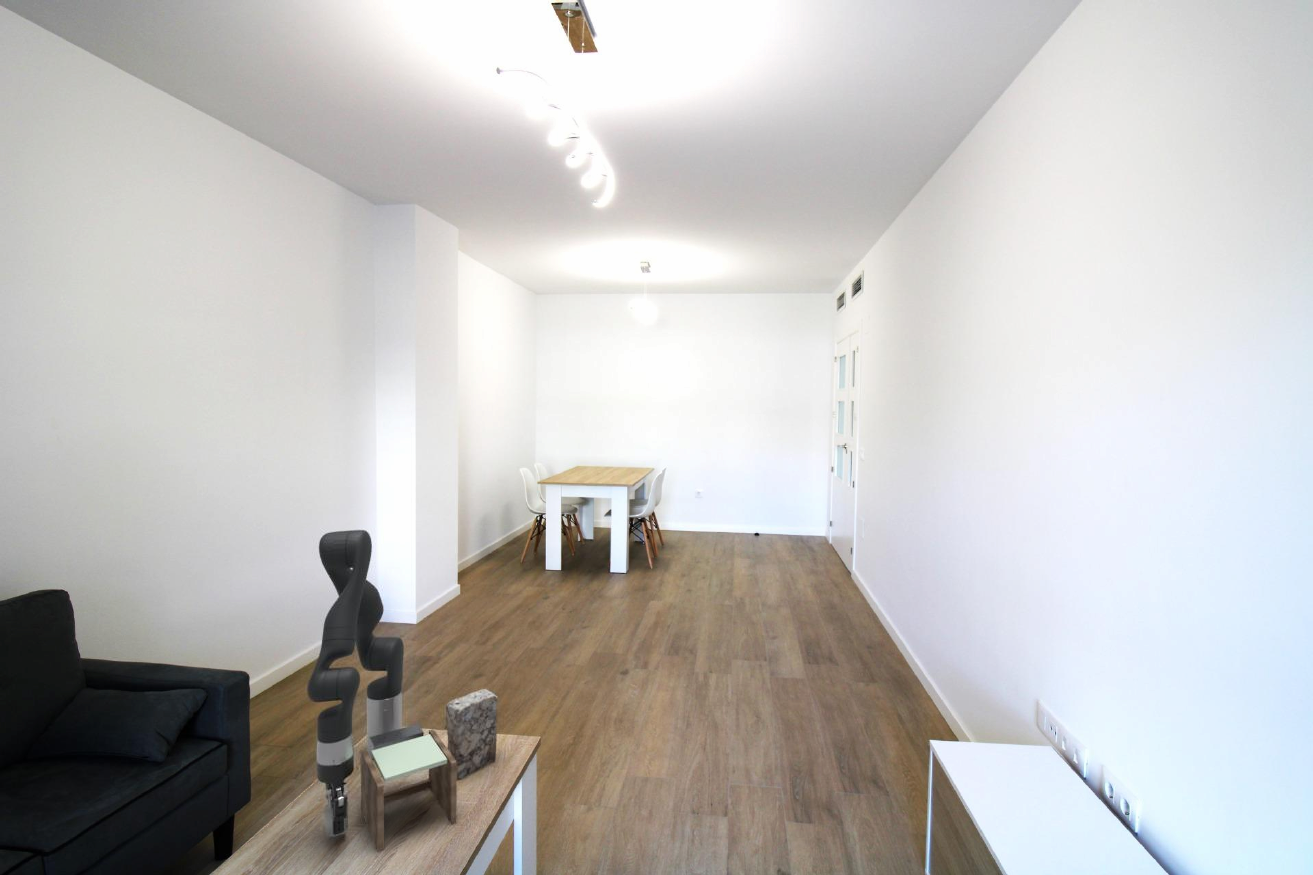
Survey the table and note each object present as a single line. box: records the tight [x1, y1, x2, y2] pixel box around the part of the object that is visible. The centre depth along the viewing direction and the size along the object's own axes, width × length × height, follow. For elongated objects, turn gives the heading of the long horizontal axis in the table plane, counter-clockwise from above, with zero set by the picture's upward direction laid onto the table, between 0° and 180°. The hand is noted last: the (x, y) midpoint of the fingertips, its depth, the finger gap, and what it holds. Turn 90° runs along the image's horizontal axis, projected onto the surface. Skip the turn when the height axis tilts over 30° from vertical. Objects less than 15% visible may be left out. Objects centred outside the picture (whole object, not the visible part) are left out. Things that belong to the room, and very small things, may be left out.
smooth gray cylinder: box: [323, 800, 349, 838], centre depth 144 cm, size 5×5×6 cm
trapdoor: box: [370, 723, 447, 784], centre depth 154 cm, size 21×14×3 cm, turn 36°
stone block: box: [445, 688, 499, 780], centre depth 173 cm, size 13×7×20 cm, turn 145°
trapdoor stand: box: [360, 729, 458, 853], centre depth 152 cm, size 18×18×15 cm
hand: (336, 825), depth 144 cm, fingers closed on smooth gray cylinder, 5 cm apart
